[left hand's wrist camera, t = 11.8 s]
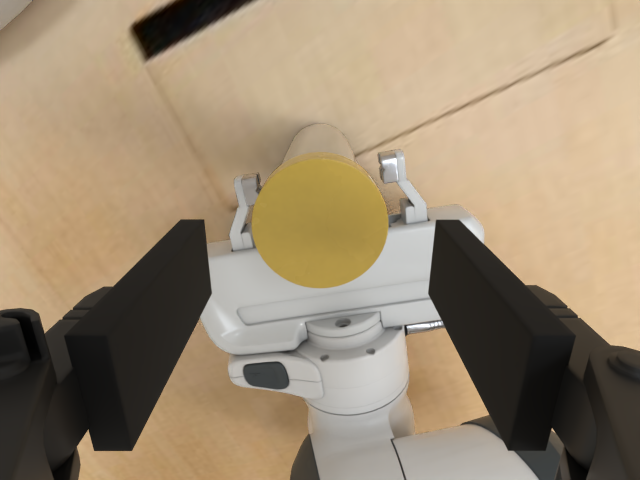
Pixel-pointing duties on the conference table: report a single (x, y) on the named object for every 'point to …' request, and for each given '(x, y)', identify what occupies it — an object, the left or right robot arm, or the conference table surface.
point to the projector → (11, 10)
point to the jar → (320, 142)
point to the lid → (319, 220)
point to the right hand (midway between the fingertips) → (317, 163)
